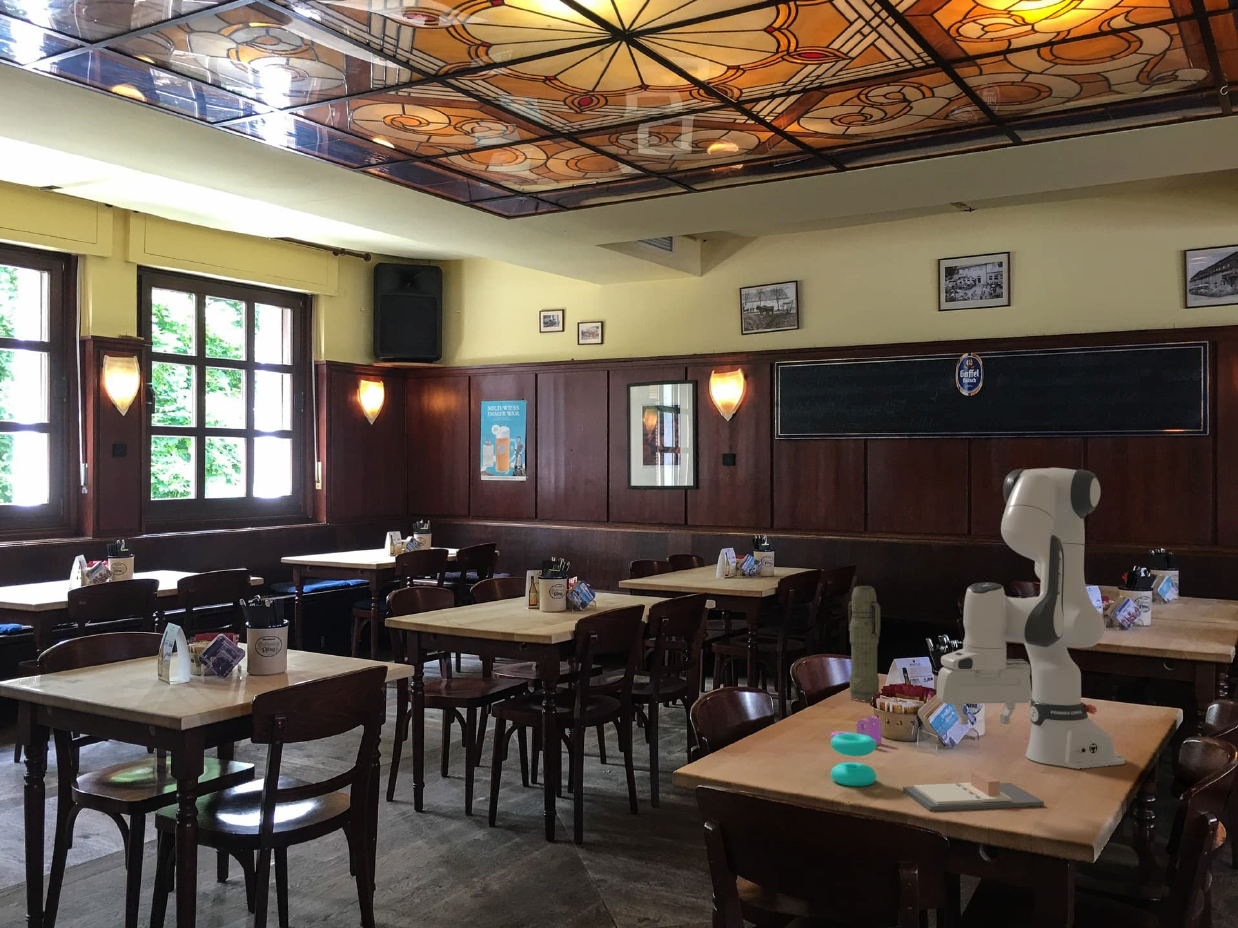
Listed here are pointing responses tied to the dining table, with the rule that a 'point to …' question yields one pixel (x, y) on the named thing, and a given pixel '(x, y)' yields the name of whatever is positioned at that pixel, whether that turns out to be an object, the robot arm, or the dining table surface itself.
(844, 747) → the donuts
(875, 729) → the bracket
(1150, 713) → the dining table surface
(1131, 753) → the dining table surface
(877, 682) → the thermos
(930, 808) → the pad
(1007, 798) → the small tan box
